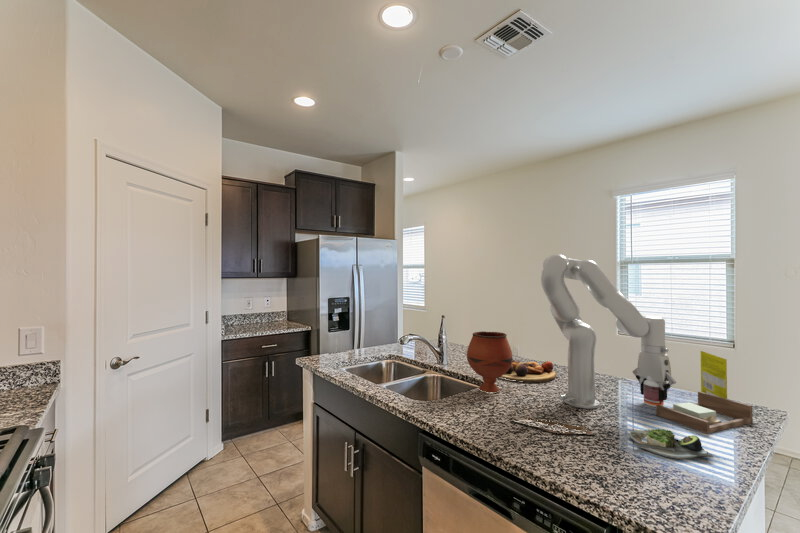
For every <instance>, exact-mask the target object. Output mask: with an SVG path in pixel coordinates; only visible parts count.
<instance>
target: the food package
mask: <svg viewBox="0 0 800 533" xmlns="http://www.w3.org/2000/svg"><path fill="white" fill-rule="evenodd" d="M727 365H728V363H727V359H726V358H723V357H720V356H717V355H714V354H711V353H709V352H706V351H703V350H700V392H703V393H707V394H711V395H714V396H718V397H722V398H725V399H728V378H727V377H728V373H727V372H728V371H727V370H728V366H727Z"/></svg>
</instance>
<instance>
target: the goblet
mask: <svg viewBox="0 0 800 533" xmlns="http://www.w3.org/2000/svg"><path fill="white" fill-rule="evenodd" d="M466 351H467V352H466V359H467V362H468V365H469V366H470V368H471V370H472V371H473V372H475V374H477V375H478V376H480V377H482V381H483V383H482V384H481V385H480V386H478V390H479V389H480V390H482V391H486V392H497V391H500V389H499V387H498V386H497V384H496V382H497V379H499V378H498V377H500V376H502V375H504V374H505V373H506V372H507V371H508V370H509V368H510V367H511V365H512V361H513V357H514V356H513V352H512V349H511V346H510V343H509V341H508V338H507V334H506V333H504V332H498V331H475V332H473V333H472V337H471V340H470V342H469V344H468V347H467V350H466Z"/></svg>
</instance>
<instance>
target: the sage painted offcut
mask: <svg viewBox="0 0 800 533" xmlns="http://www.w3.org/2000/svg"><path fill="white" fill-rule="evenodd" d="M672 408H673V409H676V410H679V411H681V412H684V413H687V414H689V415H692V416H695V417H698V418H704V417H712V416H716V417H717V413H716V411H713V410H711V409H708V408H705V407H702V406H699V405H696V404H694V403H692V402H689V401H688V402H679V403H673V404H672Z"/></svg>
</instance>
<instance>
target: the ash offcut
mask: <svg viewBox="0 0 800 533" xmlns="http://www.w3.org/2000/svg"><path fill="white" fill-rule="evenodd" d="M671 408H672V409H673V407H671ZM673 410H676V409H673ZM676 411H679V410H676ZM679 412H681V411H679ZM682 413H684V412H682ZM685 414H687V413H685ZM688 415H689V414H688ZM691 416H692V415H691ZM694 417H695V416H694ZM697 418H698V417H697ZM700 419H703V420H706V421H709V422H710V421H712V420H714V419H717V415H716V416H712V417H704V418H700Z"/></svg>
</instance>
